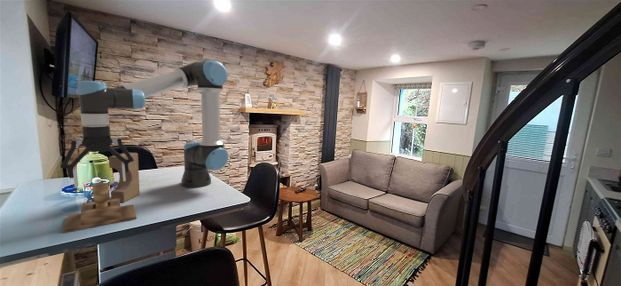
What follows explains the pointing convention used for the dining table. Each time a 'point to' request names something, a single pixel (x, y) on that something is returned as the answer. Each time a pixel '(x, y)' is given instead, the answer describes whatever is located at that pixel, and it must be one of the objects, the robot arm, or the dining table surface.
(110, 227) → the dining table surface
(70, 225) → the board
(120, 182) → the decorative block
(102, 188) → the peg
